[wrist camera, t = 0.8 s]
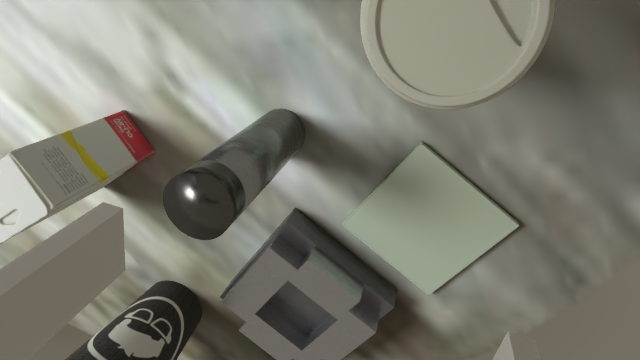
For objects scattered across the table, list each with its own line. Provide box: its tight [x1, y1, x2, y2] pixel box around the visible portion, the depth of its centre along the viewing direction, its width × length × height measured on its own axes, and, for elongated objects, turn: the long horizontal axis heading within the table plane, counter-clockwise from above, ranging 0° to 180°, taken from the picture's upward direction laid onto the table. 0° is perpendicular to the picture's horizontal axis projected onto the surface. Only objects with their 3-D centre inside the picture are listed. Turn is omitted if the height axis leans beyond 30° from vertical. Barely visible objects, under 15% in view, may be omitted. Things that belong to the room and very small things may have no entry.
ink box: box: [0, 110, 155, 244], centre depth 35 cm, size 9×5×12 cm, turn 122°
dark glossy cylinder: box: [163, 109, 305, 240], centre depth 29 cm, size 4×4×14 cm
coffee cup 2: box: [360, 0, 556, 109], centre depth 23 cm, size 8×8×12 cm
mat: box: [342, 142, 519, 295], centre depth 35 cm, size 10×10×1 cm
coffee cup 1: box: [65, 281, 202, 360], centre depth 40 cm, size 10×10×15 cm
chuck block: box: [220, 208, 397, 360], centre depth 39 cm, size 12×12×4 cm
